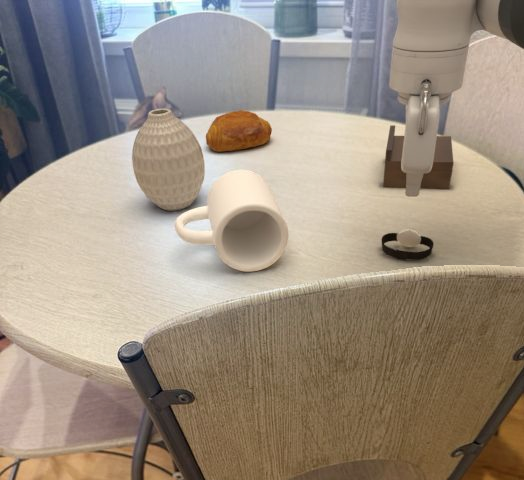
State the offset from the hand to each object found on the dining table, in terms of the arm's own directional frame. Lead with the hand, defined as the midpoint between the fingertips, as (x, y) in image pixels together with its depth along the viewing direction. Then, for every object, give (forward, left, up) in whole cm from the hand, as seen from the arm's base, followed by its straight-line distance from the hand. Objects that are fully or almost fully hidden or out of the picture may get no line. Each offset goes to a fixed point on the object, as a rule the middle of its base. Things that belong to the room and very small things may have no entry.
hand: (412, 180), depth 74 cm
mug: (+27, +3, -12) cm, 29 cm away
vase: (+43, -14, -12) cm, 47 cm away
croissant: (+40, -48, -12) cm, 63 cm away
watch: (0, 0, -12) cm, 12 cm away
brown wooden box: (-1, -32, -12) cm, 34 cm away
